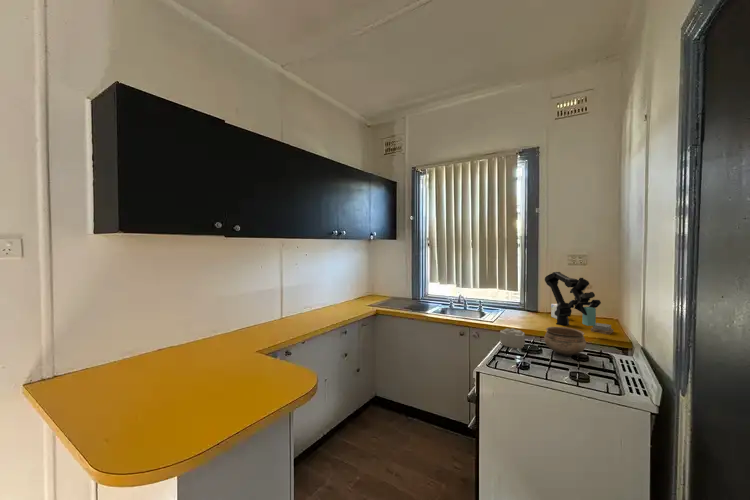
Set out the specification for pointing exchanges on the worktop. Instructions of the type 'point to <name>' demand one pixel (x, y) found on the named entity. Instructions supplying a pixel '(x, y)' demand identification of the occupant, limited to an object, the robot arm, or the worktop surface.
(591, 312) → the teal pillar block
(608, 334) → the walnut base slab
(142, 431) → the worktop surface
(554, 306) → the light bulb box
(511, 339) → the lumpy-topped squat cylinder
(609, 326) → the charcoal top slab
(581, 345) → the cooking pot
